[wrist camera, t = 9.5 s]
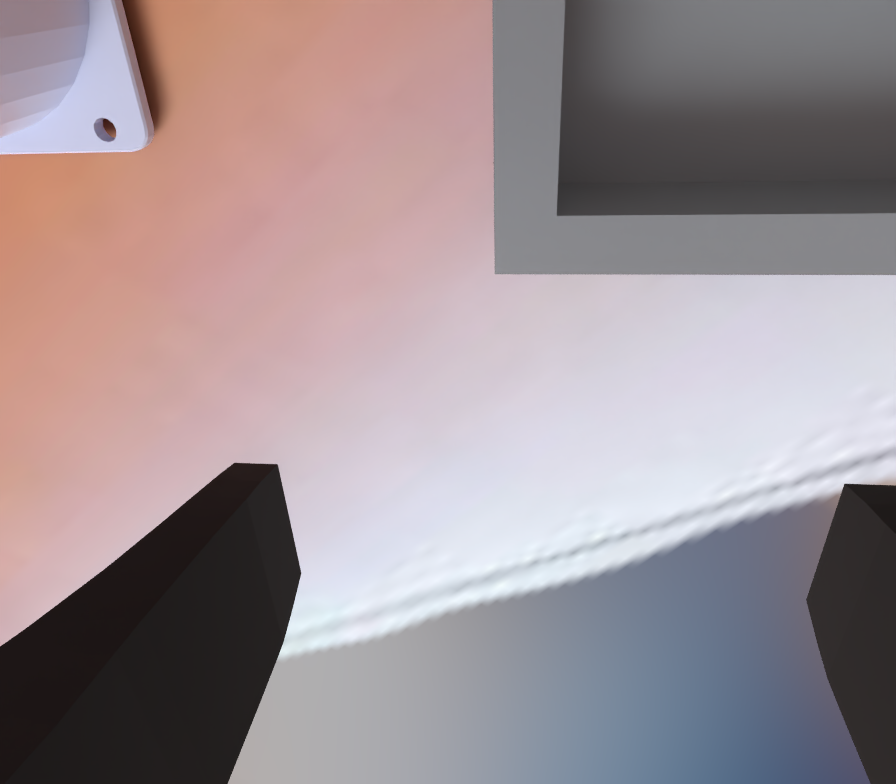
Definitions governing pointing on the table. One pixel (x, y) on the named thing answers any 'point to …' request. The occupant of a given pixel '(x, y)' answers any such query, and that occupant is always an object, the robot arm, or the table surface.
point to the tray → (695, 137)
